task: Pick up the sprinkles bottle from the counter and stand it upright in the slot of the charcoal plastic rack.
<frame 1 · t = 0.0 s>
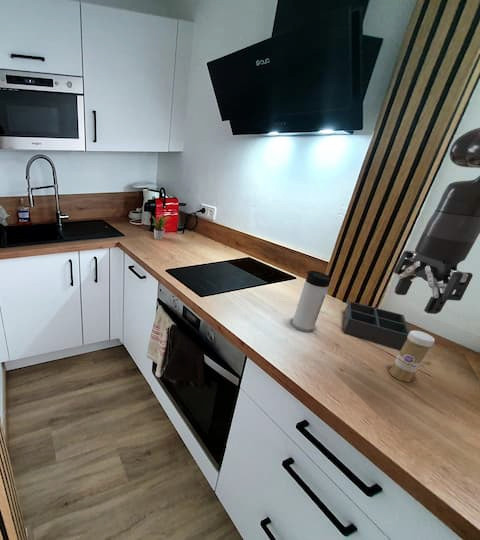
hand: (414, 302, 65), 24 cm above the worktop, tool pointing down, fingers open, 8 cm apart
rack: (370, 330, 95), on the worktop
travel mug: (301, 327, 97), on the worktop
sprinkles bottle: (399, 376, 76), on the worktop
house plant: (160, 239, 184), on the worktop
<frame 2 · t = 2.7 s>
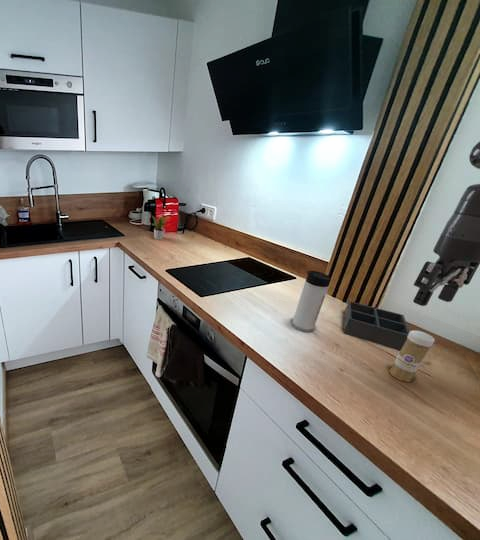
hand: (431, 302, 67), 23 cm above the worktop, tool pointing down, fingers open, 8 cm apart
nothing on the worktop moved.
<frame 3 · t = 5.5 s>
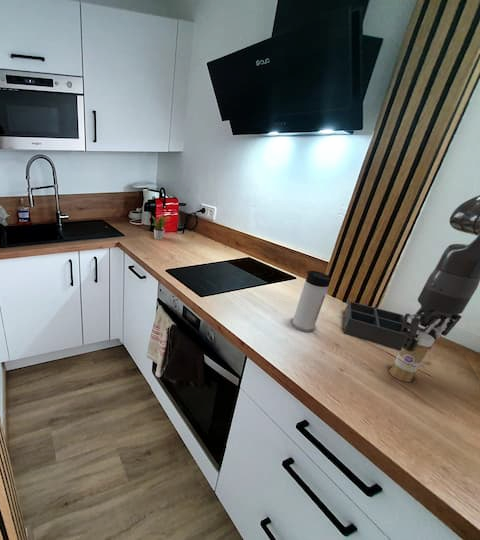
hand: (415, 348, 73), 9 cm above the worktop, tool pointing down, fingers closed on sprinkles bottle, 4 cm apart
sprinkles bottle: (399, 376, 76), on the worktop, touching gripper
everything else where it was.
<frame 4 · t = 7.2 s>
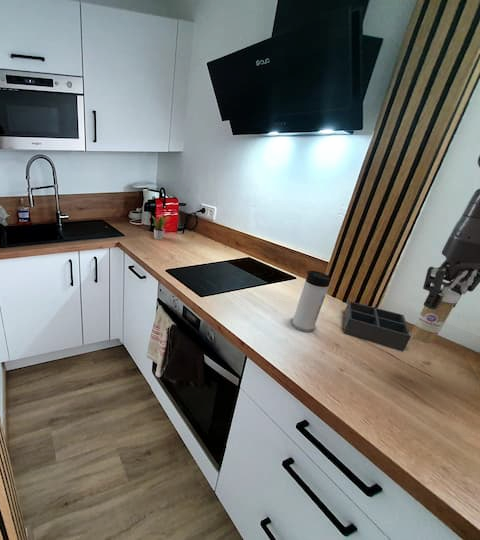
hand: (438, 306, 68), 22 cm above the worktop, tool pointing down, fingers closed on sprinkles bottle, 4 cm apart
sprinkles bottle: (420, 339, 72), point 12 cm above the worktop, touching gripper
everything else where it was.
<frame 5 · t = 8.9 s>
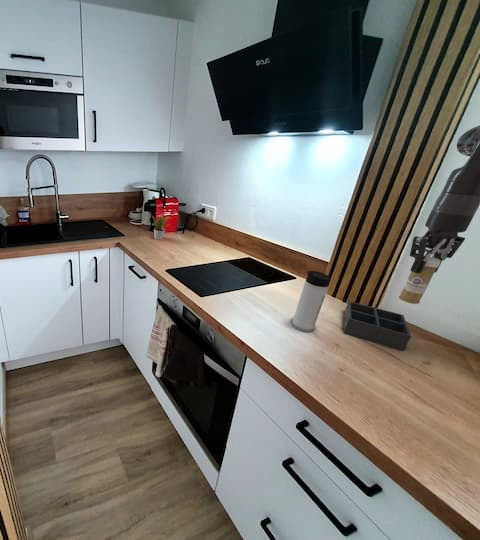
hand: (423, 271, 80), 25 cm above the worktop, tool pointing down, fingers closed on sprinkles bottle, 4 cm apart
sprinkles bottle: (408, 301, 83), point 15 cm above the worktop, touching gripper
everything else where it was.
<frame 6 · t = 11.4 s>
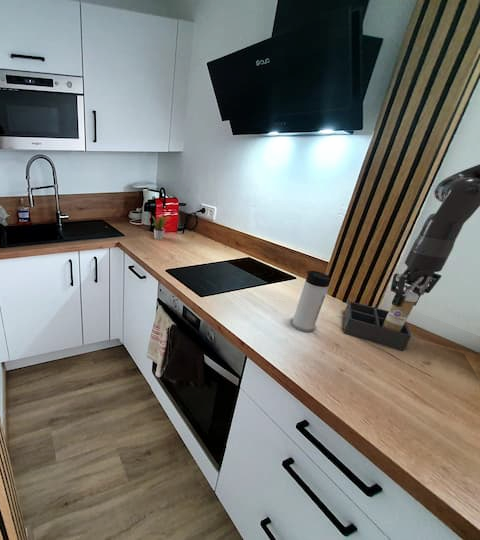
hand: (403, 304, 86), 13 cm above the worktop, tool pointing down, fingers closed on sprinkles bottle, 4 cm apart
sprinkles bottle: (390, 330, 89), point 4 cm above the worktop, touching gripper
everything else where it was.
when the fingers open (10 cm above the worktop, at t = 12.7 s): sprinkles bottle stays where it is, resting on rack.
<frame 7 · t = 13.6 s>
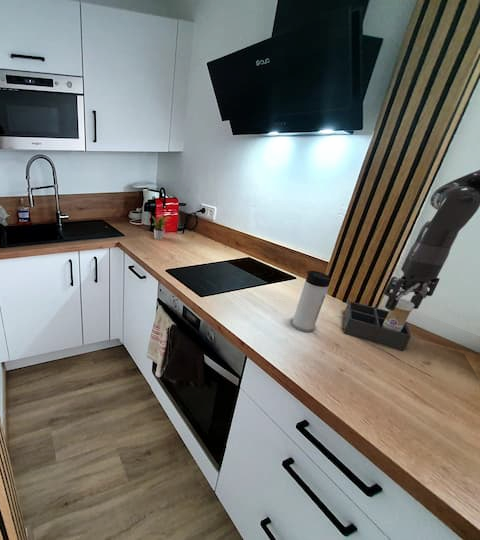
hand: (401, 308, 86), 12 cm above the worktop, tool pointing down, fingers open, 8 cm apart
sprinkles bottle: (386, 338, 91), point 1 cm above the worktop, touching rack
everything else where it was.
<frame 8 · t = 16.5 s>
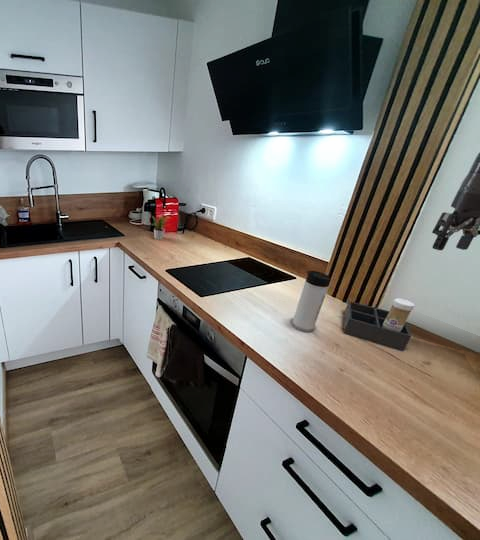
hand: (449, 249, 82), 30 cm above the worktop, tool pointing down, fingers open, 8 cm apart
nothing on the worktop moved.
at the end: sprinkles bottle 0.0 cm from the target spot in the rack, point 0.6 cm above the rack's base; sprinkles bottle tilted 0°; the gripper is holding nothing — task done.
